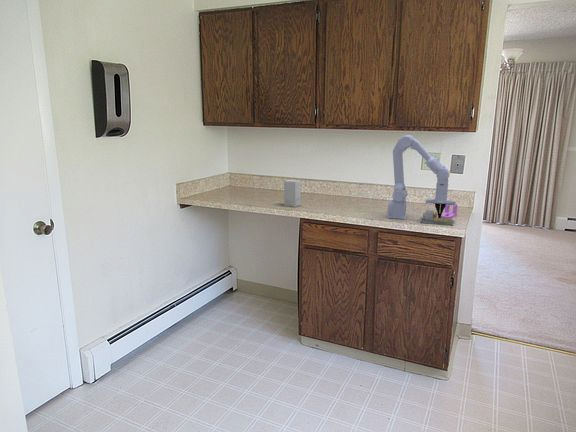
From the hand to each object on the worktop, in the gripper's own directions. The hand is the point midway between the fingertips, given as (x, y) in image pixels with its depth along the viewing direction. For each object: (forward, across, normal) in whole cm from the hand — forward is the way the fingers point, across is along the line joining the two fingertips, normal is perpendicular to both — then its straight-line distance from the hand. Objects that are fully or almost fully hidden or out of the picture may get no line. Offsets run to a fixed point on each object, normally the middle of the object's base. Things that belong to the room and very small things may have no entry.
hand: (439, 217), depth 228 cm
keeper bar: (0, +2, -6) cm, 6 cm away
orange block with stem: (0, -5, 0) cm, 5 cm away
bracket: (+2, +4, +14) cm, 15 cm away
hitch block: (+2, -3, 0) cm, 3 cm away
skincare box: (+2, -85, +7) cm, 85 cm away
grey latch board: (+2, -1, -2) cm, 3 cm away
